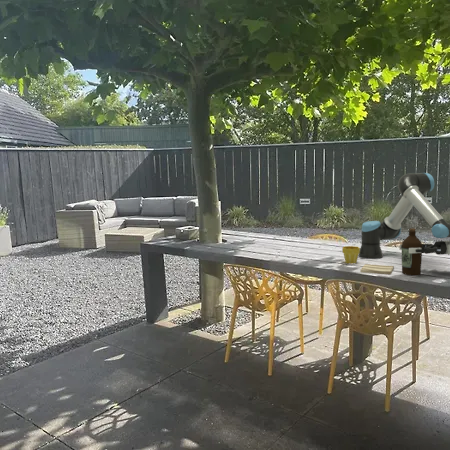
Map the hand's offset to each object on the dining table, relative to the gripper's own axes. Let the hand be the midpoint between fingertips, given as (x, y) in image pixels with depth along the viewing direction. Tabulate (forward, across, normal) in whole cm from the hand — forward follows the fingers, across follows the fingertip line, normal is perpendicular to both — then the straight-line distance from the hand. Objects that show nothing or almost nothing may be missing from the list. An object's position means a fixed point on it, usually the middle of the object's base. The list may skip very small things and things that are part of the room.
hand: (404, 248), depth 234 cm
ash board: (+10, +11, -14) cm, 20 cm away
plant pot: (+18, +34, -14) cm, 41 cm away
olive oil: (-4, 0, -14) cm, 15 cm away
